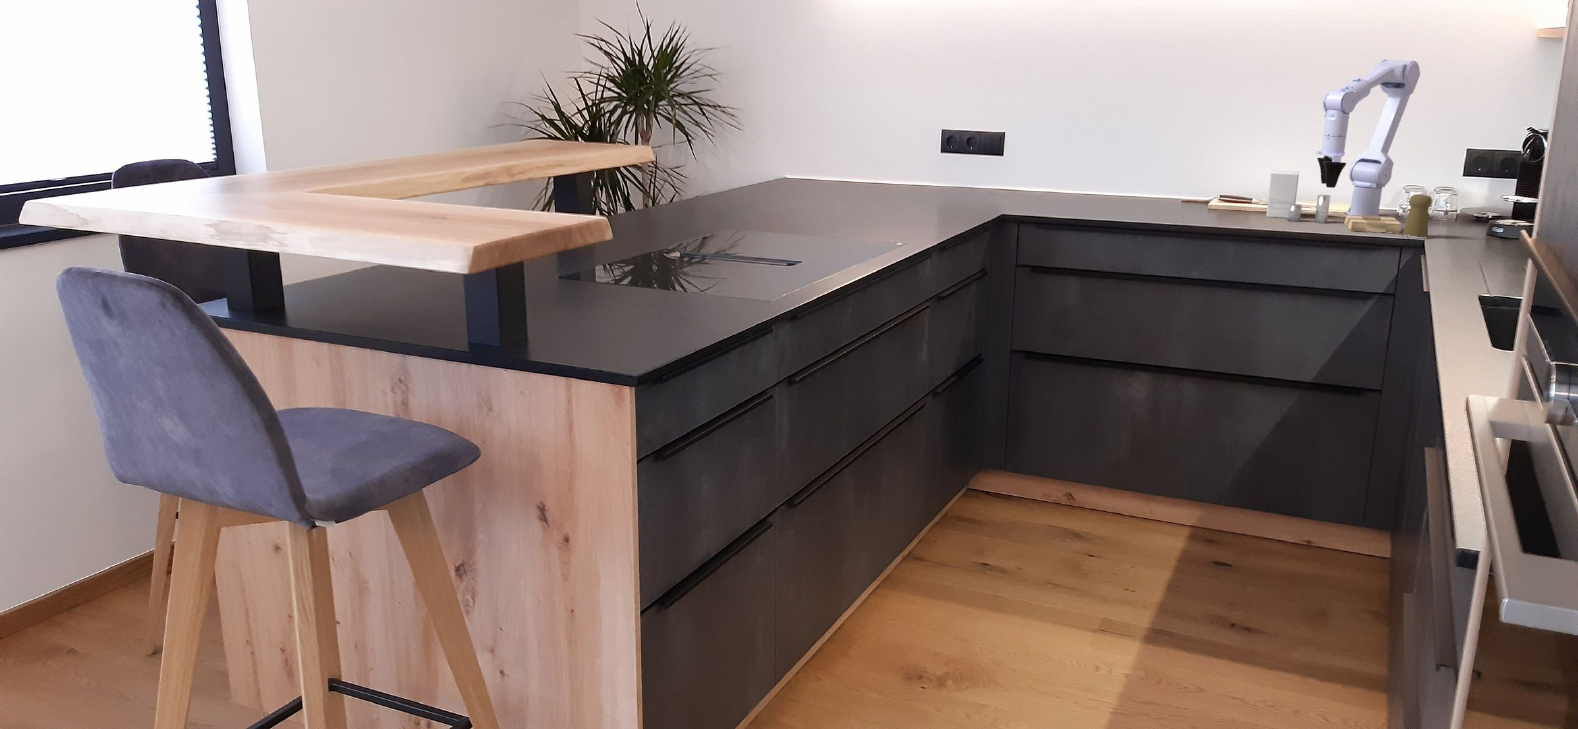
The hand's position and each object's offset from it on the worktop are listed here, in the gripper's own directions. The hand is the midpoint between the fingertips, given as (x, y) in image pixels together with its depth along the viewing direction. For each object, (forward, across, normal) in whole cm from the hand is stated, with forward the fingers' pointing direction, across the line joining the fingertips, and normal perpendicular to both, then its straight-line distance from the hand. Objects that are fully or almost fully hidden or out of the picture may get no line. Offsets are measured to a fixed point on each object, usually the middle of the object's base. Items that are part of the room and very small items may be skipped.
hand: (1328, 185), depth 325 cm
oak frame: (+10, +7, +11) cm, 17 cm away
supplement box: (+11, -9, -10) cm, 17 cm away
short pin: (+10, -1, -8) cm, 13 cm away
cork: (+11, +16, +20) cm, 28 cm away
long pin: (+10, -1, 0) cm, 10 cm away
